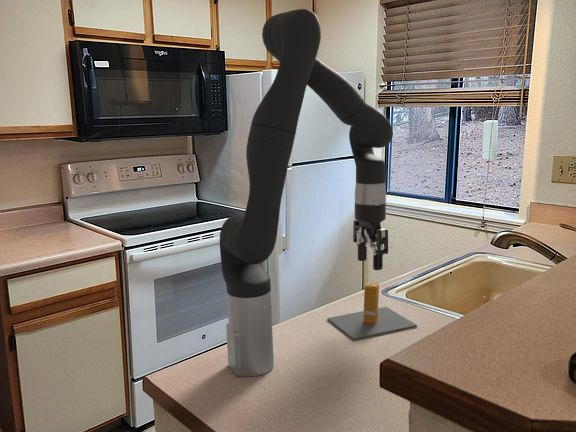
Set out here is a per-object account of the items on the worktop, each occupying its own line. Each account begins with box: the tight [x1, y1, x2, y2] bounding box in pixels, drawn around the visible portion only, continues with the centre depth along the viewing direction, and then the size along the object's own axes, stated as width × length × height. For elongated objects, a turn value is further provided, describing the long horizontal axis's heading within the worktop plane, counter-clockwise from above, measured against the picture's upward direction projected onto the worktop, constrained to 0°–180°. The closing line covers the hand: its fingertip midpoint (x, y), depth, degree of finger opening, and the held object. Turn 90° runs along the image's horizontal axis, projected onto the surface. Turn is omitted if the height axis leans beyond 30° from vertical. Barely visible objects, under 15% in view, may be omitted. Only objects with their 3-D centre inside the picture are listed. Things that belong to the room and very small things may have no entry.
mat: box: [327, 306, 418, 341], centre depth 135 cm, size 18×14×1 cm
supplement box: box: [363, 281, 380, 324], centre depth 134 cm, size 3×3×10 cm
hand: (369, 265), depth 132 cm, fingers open, 8 cm apart
